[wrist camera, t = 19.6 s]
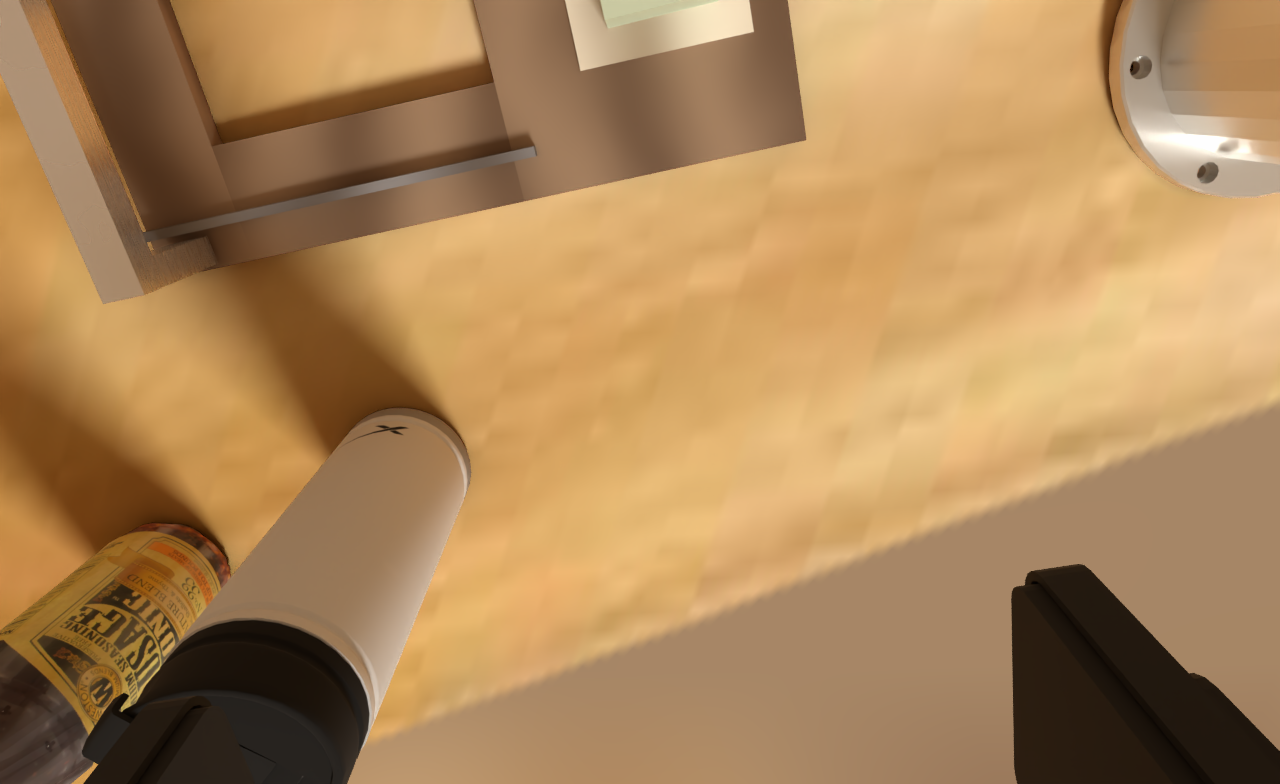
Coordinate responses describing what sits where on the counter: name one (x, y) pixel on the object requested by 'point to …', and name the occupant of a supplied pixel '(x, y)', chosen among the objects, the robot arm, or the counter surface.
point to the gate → (83, 161)
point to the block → (643, 9)
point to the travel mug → (320, 605)
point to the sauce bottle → (97, 645)
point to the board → (438, 121)
